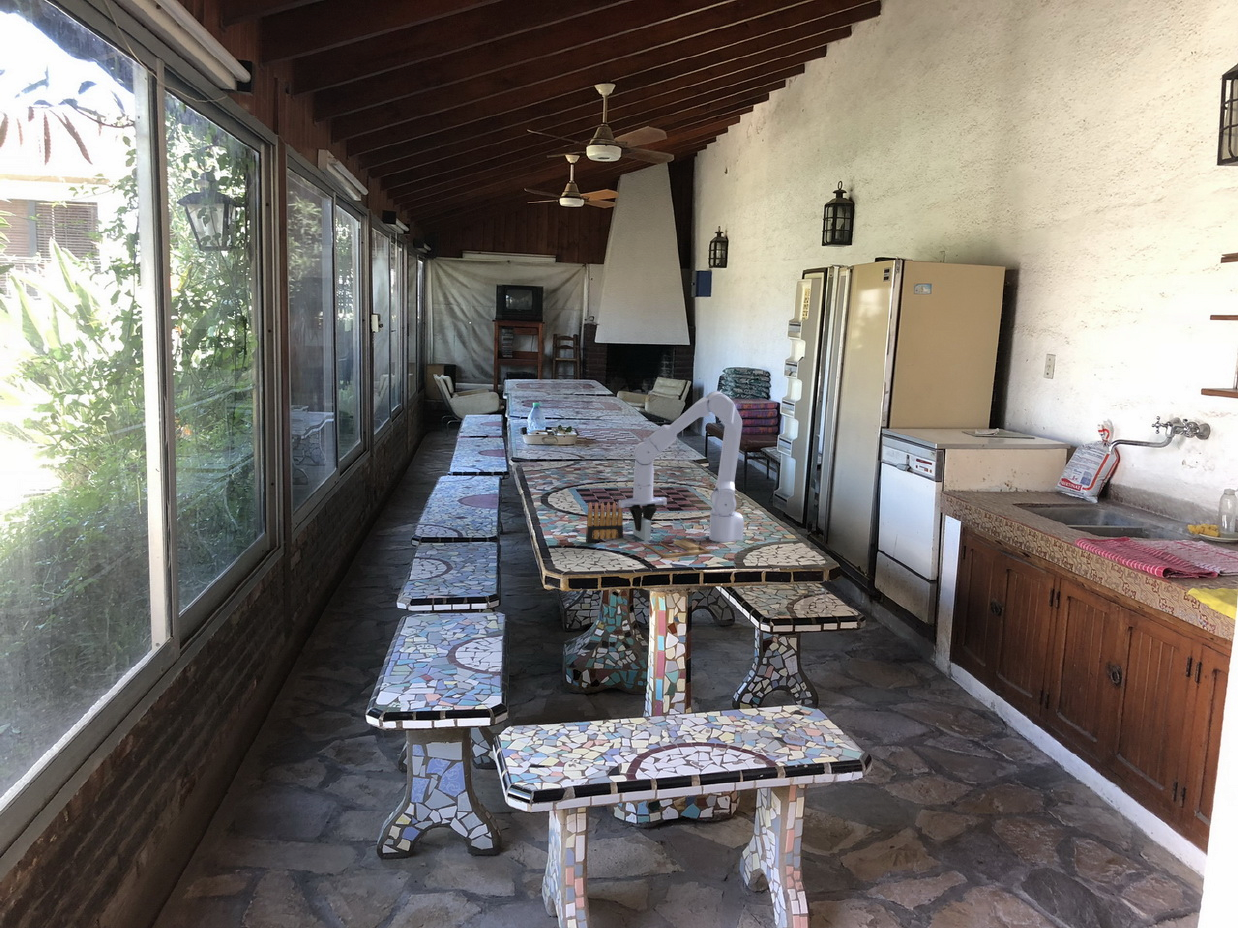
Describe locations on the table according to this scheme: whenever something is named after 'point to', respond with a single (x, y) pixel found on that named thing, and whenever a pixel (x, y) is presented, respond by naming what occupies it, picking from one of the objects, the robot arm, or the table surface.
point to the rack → (676, 554)
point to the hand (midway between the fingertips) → (641, 530)
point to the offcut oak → (686, 545)
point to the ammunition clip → (604, 523)
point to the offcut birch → (691, 550)
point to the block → (643, 530)
